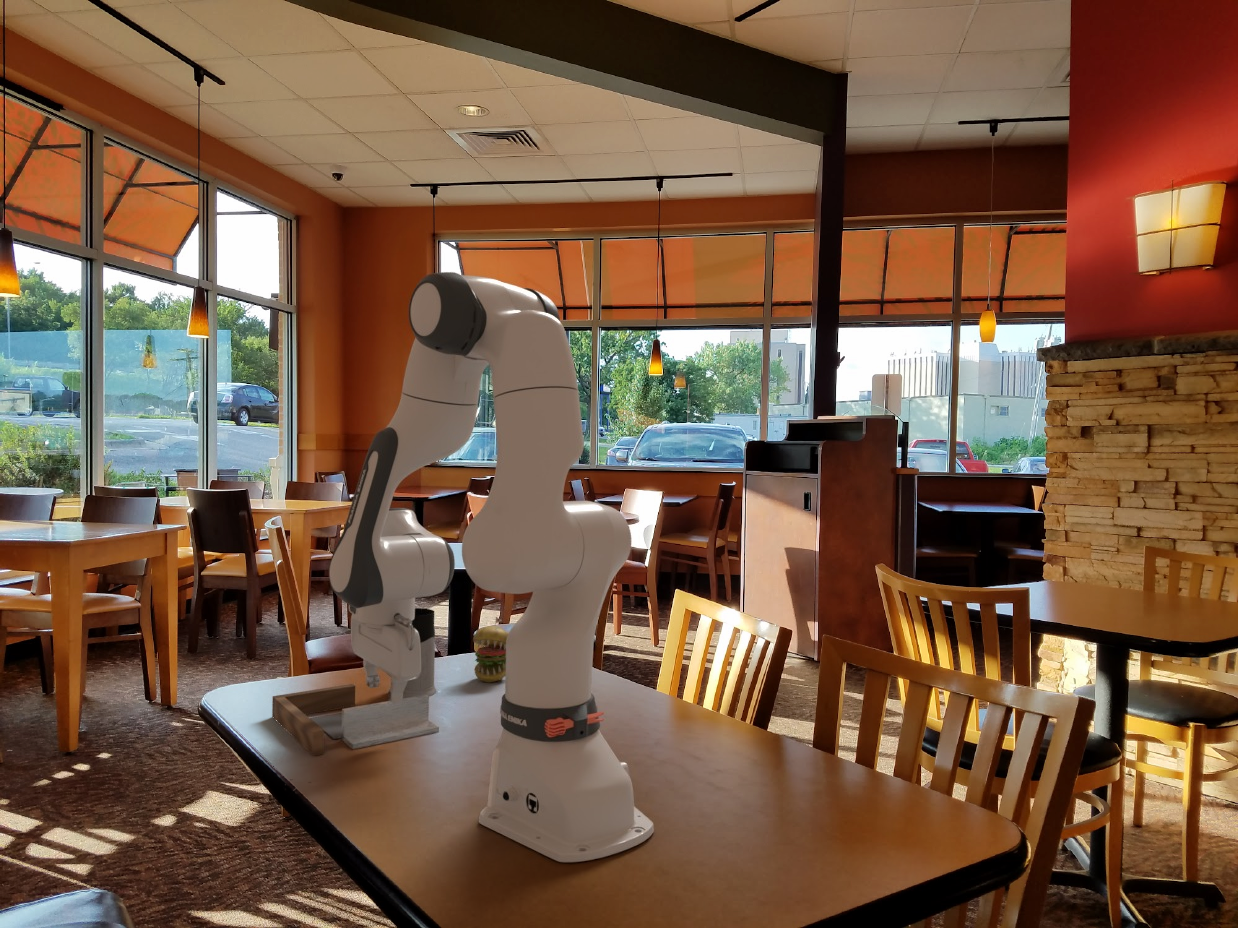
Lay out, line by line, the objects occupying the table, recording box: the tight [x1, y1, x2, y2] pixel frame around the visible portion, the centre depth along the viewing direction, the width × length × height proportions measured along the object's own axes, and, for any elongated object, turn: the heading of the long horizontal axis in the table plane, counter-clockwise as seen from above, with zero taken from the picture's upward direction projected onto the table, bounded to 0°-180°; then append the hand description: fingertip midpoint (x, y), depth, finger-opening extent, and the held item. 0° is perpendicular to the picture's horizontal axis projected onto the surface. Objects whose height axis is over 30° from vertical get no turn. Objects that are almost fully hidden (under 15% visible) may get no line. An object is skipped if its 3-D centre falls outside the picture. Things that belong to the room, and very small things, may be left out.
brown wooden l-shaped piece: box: [271, 683, 356, 757], centre depth 135 cm, size 22×14×4 cm, turn 38°
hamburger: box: [472, 616, 509, 683], centre depth 165 cm, size 8×7×12 cm
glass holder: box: [386, 607, 437, 699], centre depth 153 cm, size 9×14×15 cm, turn 155°
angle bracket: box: [341, 695, 440, 750], centre depth 132 cm, size 14×5×5 cm, turn 127°
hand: (383, 694), depth 134 cm, fingers open, 8 cm apart
